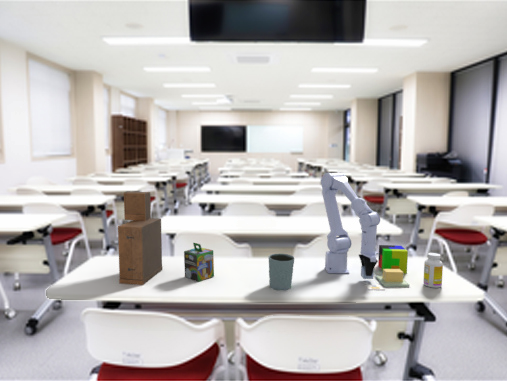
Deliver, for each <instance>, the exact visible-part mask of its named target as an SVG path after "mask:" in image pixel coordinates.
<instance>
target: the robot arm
mask: <svg viewBox="0 0 507 381" xmlns="http://www.w3.org/2000/svg"><path fill="white" fill-rule="evenodd" d="M348 181H349V179H348V177H347V176H346V174H345V173H344V172H325V173H323V175H322V177H321V179H320V185H321V193H322V198H323V203H324V208H325V212H326V217H327V220H328V226H329V230H330V231H329V232H328V233H327V235H326V238H327V239H326V240H327V248H328V250H329V251H325V257H324V260H325V261H324V264H325V265H324V269H325V270H326V272H327V274H350V271H349V270H348V252H349V250H350V248H351V247H352V240H351V238H350V236H349V232H348V231H347V230H345V229H344V228H343V225H342V224H343V223H342V218H341V215H340V210H339V206H338V202H337V201H338V200H337V198H336V194H337V193H338V192H339V191H341V193H343V195H344V196H345V197H346V198H347V199H348V201H349V202H350V207H351V209H352V210H353V212H354V213H355V214H356V215H357V216H358V218H359V219H358V222H359V224H360V229H361V241H360V242H361V244H360V254H358V257H359V260H360V264H361V266H365V272H366V276H372V273H373V270H375V267H376V265H377V264H378V260H379V259H377V256H376V255H379V251H376V250H377V248H376V247H377V233H378V232H377V231H378V230H377V229H378V225H379V224H380V222H381V216H380V214H379V213H378V212H377V211H374V210H372V209H371V208H370V206H369V205H368V204H367V203H366V200H365V199H364V198H362V197H358V195H357V194H356V192H355V191H354V189H353V187H352V186H351V185H350V183H349V182H348Z"/></svg>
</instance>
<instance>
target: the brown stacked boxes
mask: <svg viewBox="0 0 507 381" xmlns="http://www.w3.org/2000/svg"><path fill="white" fill-rule="evenodd" d="M123 209H124V210H123V211H124V212H123V213H124V221H128V222H126V223H124V224H120V225H117V236H118V237H117V239H118V244H117V245H118V267H119V268H118V269H119V270H118V271H119V273H118V274H119V279H118V282H119V284H121V285H123V284H124V285H139V286H144V285H146V284H147V283H148V282H149V281H150V280H152V279H153V278H154V277H155V276H157V275H158V274H159V273H161V272H162V271H163V253H162V252H163V251H162V250H163V247H162V244H163V242H162V240H163V238H162V218H157V217H156V218H152V214H151V213H152V211H151V192H150V191H127V192H123Z"/></svg>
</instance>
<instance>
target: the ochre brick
mask: <svg viewBox="0 0 507 381" xmlns="http://www.w3.org/2000/svg"><path fill="white" fill-rule="evenodd" d="M381 274H382V275H381V276H382V279H383V280H384V281H385V282H403V279H404V273H403V271H401V270H400V269H383V271H382V273H381Z"/></svg>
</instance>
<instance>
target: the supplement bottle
mask: <svg viewBox="0 0 507 381" xmlns="http://www.w3.org/2000/svg"><path fill="white" fill-rule="evenodd" d="M426 257H427V259H425V260H424V263H423V266H424V267H423V285H424V286H426V287H428V288H433V289H434V288H435V289H439V288H442V286H443V272H444V270H443V267H444V264H443V262H442V260H441V258H442V257H441V254H440V253H437V252H429V253H427V256H426Z"/></svg>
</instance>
